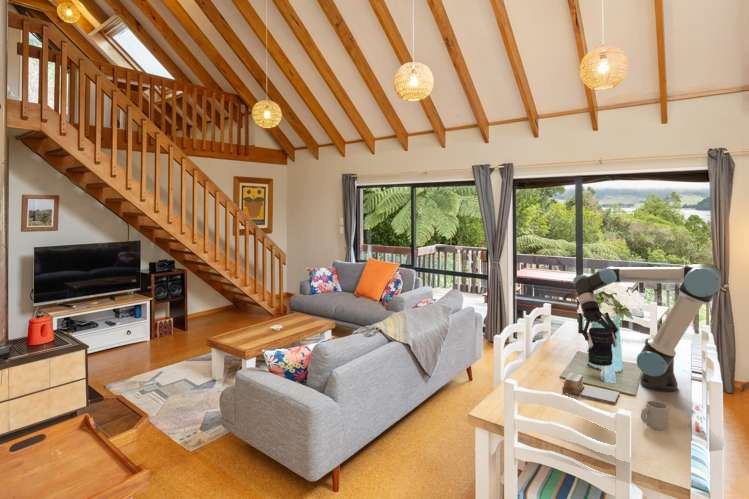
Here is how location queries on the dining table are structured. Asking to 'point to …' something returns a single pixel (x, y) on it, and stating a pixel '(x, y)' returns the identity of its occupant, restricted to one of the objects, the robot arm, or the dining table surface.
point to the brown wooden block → (573, 384)
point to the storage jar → (601, 346)
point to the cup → (655, 415)
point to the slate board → (600, 394)
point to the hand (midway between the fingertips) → (603, 346)
